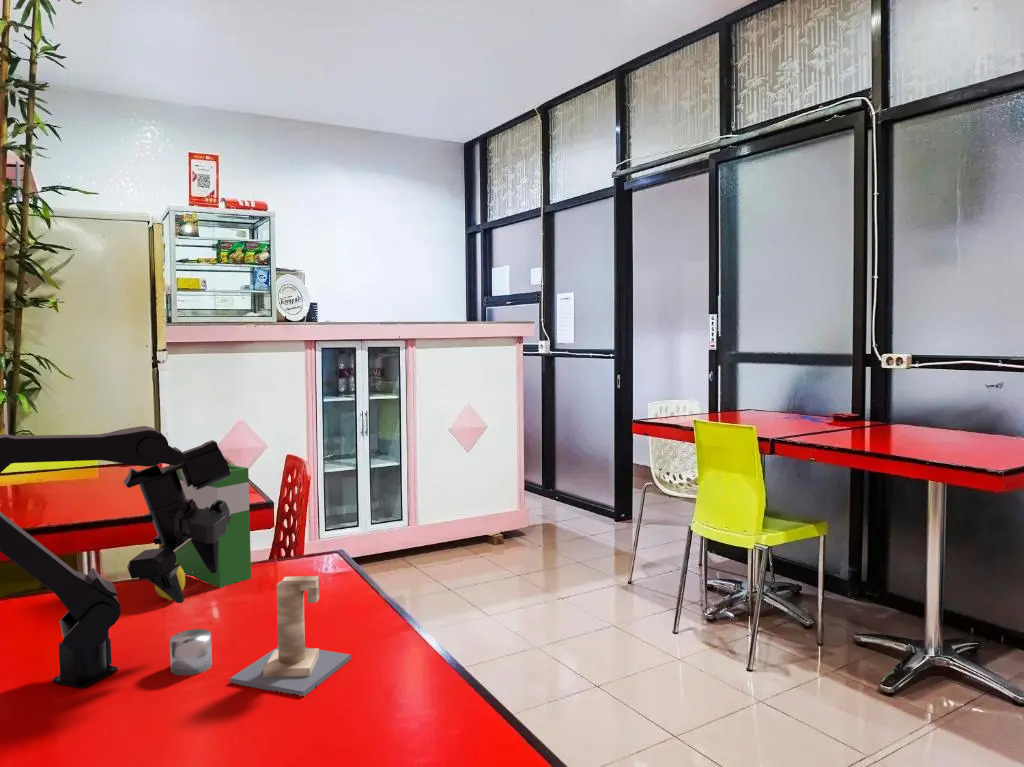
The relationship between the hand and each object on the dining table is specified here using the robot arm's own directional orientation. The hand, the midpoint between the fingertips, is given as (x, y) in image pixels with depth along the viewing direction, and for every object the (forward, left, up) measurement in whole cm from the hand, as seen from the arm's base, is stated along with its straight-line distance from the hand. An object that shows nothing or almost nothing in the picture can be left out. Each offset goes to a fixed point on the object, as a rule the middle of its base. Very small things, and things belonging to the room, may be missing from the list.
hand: (198, 587), depth 124 cm
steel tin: (-5, -3, -11) cm, 13 cm away
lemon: (+17, +22, -11) cm, 30 cm away
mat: (-1, -19, -11) cm, 22 cm away
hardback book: (+32, +25, -11) cm, 42 cm away
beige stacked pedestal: (-1, -19, -10) cm, 22 cm away
